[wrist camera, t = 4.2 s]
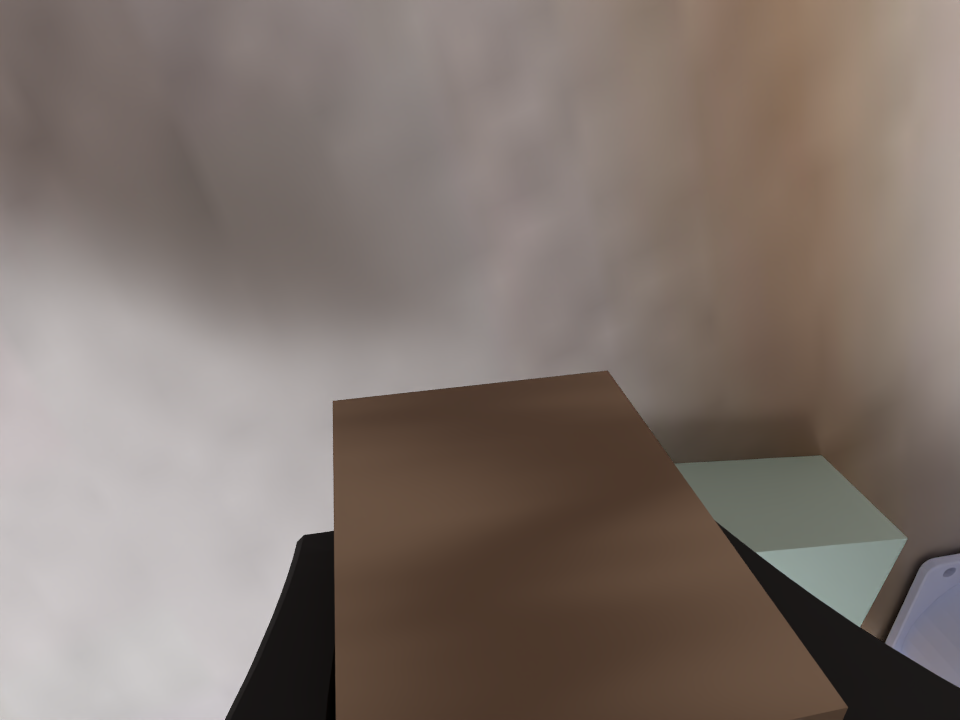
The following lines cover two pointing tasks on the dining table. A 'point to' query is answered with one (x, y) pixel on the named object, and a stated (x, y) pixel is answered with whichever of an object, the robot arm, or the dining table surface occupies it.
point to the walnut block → (543, 568)
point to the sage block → (803, 525)
